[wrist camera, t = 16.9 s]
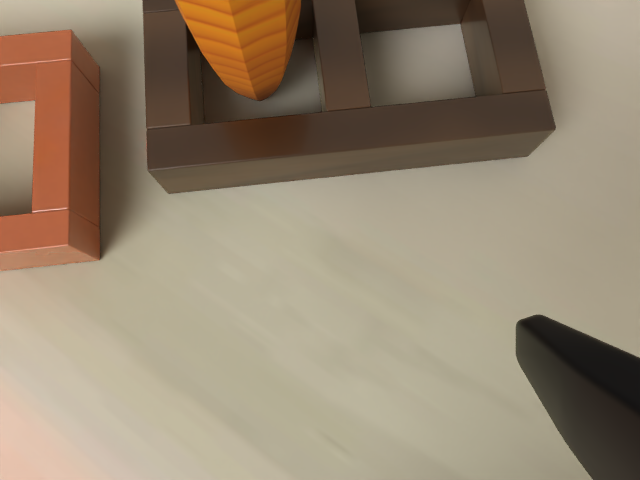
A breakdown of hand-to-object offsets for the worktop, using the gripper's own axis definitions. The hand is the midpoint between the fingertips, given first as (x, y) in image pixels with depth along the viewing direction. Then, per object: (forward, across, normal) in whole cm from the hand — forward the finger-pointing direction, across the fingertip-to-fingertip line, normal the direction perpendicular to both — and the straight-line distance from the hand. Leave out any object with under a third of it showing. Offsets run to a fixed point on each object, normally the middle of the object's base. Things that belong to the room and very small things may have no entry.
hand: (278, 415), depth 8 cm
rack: (+19, -6, 0) cm, 20 cm away
